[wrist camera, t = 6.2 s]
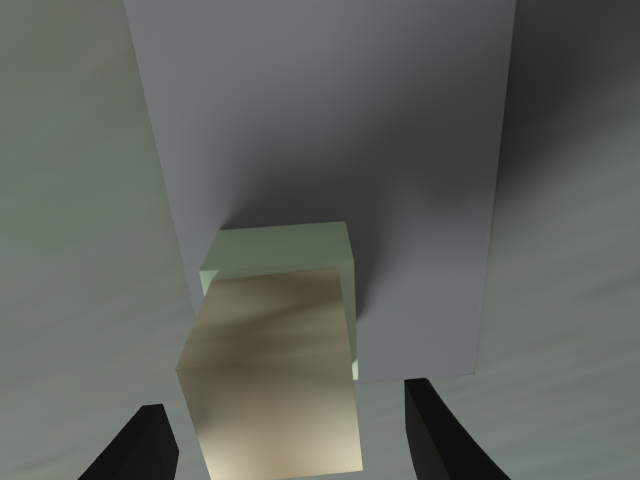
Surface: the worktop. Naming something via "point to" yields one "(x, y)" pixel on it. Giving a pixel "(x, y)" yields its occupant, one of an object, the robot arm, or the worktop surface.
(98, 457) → the robot arm
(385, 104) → the play mat
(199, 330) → the birch block
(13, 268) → the worktop surface
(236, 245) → the sage brick
